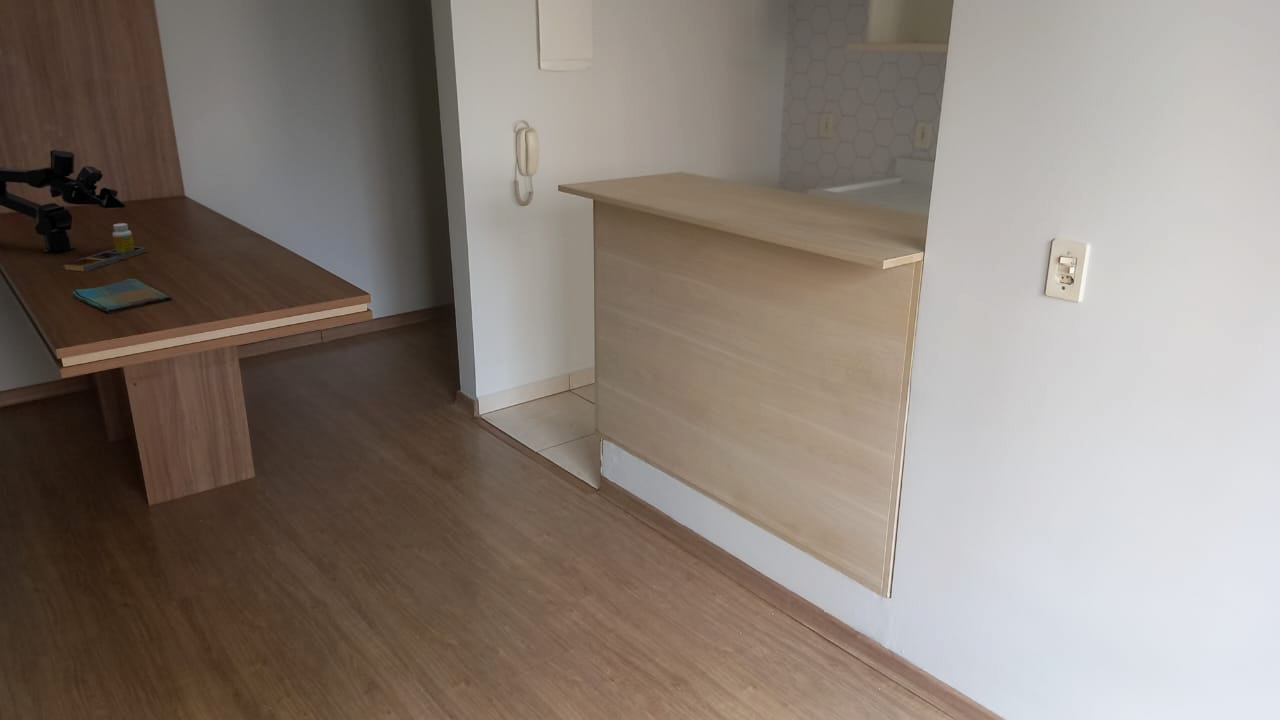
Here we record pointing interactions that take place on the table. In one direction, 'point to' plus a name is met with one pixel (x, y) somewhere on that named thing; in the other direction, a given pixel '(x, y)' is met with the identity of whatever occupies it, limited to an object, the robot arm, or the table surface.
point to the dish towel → (121, 296)
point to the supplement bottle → (123, 238)
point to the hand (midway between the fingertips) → (113, 204)
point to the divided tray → (96, 260)
